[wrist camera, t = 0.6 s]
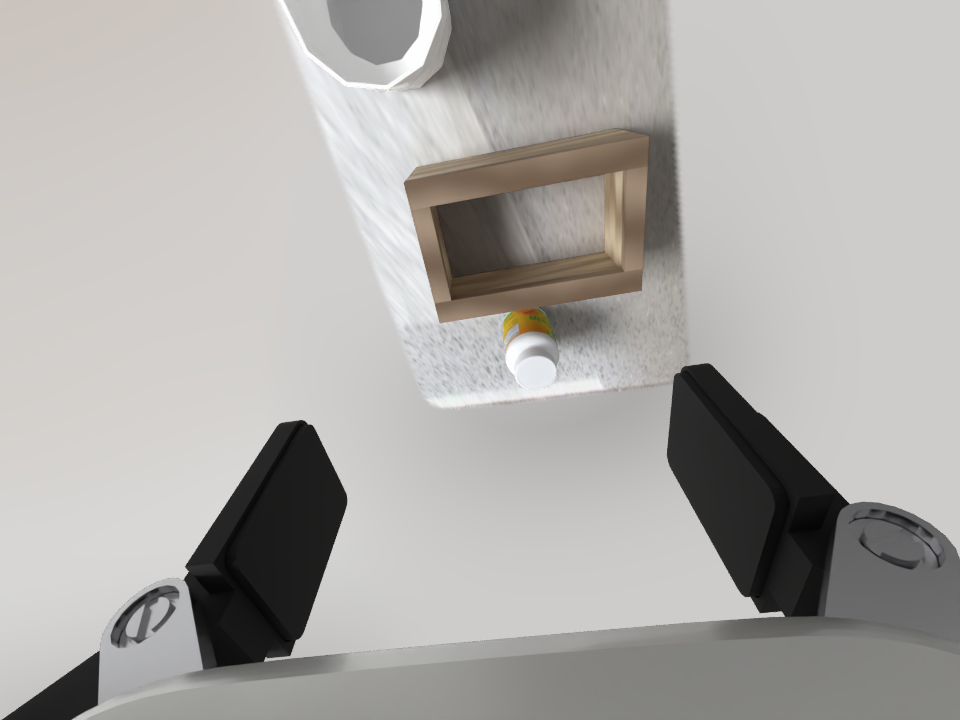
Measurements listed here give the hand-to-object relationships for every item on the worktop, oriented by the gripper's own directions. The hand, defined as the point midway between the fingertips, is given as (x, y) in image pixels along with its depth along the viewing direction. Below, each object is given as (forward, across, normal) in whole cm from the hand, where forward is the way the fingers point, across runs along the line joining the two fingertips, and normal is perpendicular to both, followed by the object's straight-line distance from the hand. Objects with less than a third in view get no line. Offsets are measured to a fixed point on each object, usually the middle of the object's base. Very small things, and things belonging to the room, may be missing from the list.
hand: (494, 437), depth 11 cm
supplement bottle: (+34, -3, +14) cm, 36 cm away
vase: (+32, +4, -14) cm, 36 cm away
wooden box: (+33, -4, +2) cm, 33 cm away
